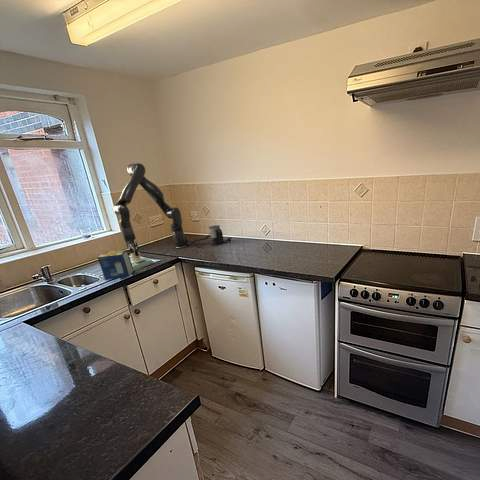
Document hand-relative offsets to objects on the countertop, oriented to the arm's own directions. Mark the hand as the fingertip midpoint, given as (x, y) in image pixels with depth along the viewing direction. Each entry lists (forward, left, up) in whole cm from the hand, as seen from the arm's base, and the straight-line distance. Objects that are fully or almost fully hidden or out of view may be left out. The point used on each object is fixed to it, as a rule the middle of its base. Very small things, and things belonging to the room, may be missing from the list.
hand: (134, 255), depth 218 cm
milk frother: (-65, +19, -7) cm, 68 cm away
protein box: (+18, +14, -7) cm, 24 cm away
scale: (0, +2, -7) cm, 7 cm away
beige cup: (0, 0, -4) cm, 4 cm away
